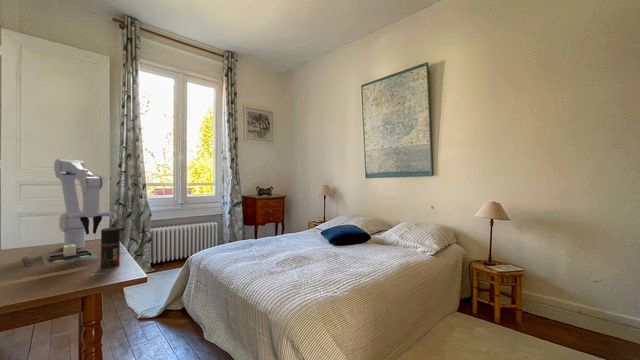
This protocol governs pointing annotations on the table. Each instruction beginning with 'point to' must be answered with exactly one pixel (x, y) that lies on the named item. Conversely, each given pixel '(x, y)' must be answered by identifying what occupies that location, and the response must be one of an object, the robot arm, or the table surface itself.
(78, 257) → the panel
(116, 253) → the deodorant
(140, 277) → the table surface
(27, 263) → the dark gray bar
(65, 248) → the toggle
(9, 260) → the table surface
